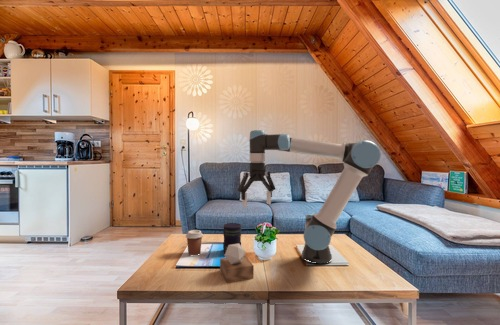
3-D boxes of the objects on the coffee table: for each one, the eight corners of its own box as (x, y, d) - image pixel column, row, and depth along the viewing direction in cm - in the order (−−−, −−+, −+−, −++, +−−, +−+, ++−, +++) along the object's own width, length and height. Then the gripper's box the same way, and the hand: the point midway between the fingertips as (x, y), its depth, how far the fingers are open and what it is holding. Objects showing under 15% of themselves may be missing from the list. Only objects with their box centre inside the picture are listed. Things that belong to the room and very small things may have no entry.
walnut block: (245, 268, 126) (245, 255, 126) (253, 279, 115) (253, 265, 115) (220, 271, 123) (220, 258, 122) (226, 283, 111) (226, 269, 111)
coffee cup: (182, 253, 144) (182, 231, 143) (197, 249, 150) (197, 228, 149) (190, 258, 137) (190, 235, 136) (206, 254, 143) (206, 232, 142)
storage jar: (224, 256, 140) (224, 228, 140) (221, 250, 150) (222, 223, 149) (242, 254, 142) (243, 227, 142) (239, 248, 152) (239, 222, 152)
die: (243, 268, 113) (250, 246, 118) (225, 260, 111) (234, 238, 116) (235, 268, 120) (243, 247, 125) (219, 260, 118) (227, 240, 123)
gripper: (273, 161, 140) (273, 202, 141) (230, 162, 128) (230, 206, 129) (282, 162, 134) (282, 204, 134) (237, 162, 122) (237, 208, 122)
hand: (257, 205), depth 131 cm, fingers open, 13 cm apart
